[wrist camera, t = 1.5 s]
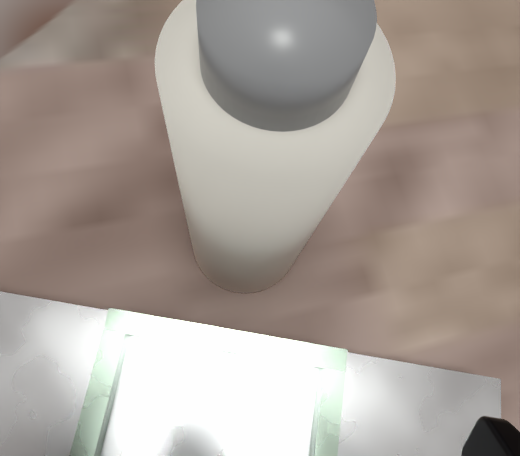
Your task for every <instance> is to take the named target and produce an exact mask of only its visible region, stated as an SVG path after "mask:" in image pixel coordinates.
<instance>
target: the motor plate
mask: <svg viewBox="0 0 520 456" xmlns="http://www.w3.org/2000/svg"><path fill="white" fill-rule="evenodd" d="M482 416H489V417H494V418H500V419H501V379H497V378H492V377H486V376H480V375H475V374H469V373H463V372H457V371H452V370H446V369H440V368H434V367H429V366H423V365H417V364H412V363H406V362H400V361H394V360H389V359H383V358H377V357H372V356H366V355H360V354H354V353H349V352H348V350H347V349H341V348H335V347H329V346H324V345H318V344H312V343H307V342H301V341H295V340H289V339H284V338H278V337H272V336H267V335H261V334H255V333H250V332H244V331H238V330H232V329H227V328H221V327H215V326H210V325H204V324H198V323H192V322H187V321H181V320H175V319H170V318H164V317H158V316H152V315H147V314H141V313H135V312H130V311H124V310H118V309H112V308H109V310H103V309H97V308H91V307H86V306H80V305H74V304H69V303H63V302H57V301H51V300H46V299H40V298H34V297H29V296H23V295H17V294H11V293H6V292H0V456H461V451H462V447H463V445H464V443H465V441H466V439H467V438H468V436H469V434H470V432H471V430H472V429H473V427H474V425H475V423H476V421H477V420H478V419H479V418H480V417H482Z"/></svg>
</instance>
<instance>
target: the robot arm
mask: <svg viewBox="0 0 520 456" xmlns="http://www.w3.org/2000/svg"><path fill="white" fill-rule="evenodd" d="M461 456H520V432H519V431H518V430H517V429H516V428H515V427H514V426H513V425H512V424H511V423H509V422H508V421H506V420H504V419H500V418H494V417H489V416H482V417H480V418H479V419H478V420H477V421H476V423H475V425H474V427H473V429H472V430H471V432H470V434H469V436H468V438H467V439H466V441H465V443H464V445H463V447H462V451H461Z"/></svg>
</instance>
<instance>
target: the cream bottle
mask: <svg viewBox="0 0 520 456" xmlns="http://www.w3.org/2000/svg"><path fill="white" fill-rule="evenodd" d="M155 75H156V80H157V85H158V90H159V94H160V99H161V104H162V108H163V113H164V118H165V122H166V127H167V132H168V136H169V141H170V146H171V150H172V155H173V160H174V164H175V169H176V174H177V178H178V183H179V188H180V192H181V197H182V202H183V206H184V211H185V216H186V220H187V225H188V230H189V234H190V239H191V244H192V248H193V253H194V257H195V260H196V262H197V264H198V266H199V268H200V269H201V271H202V272H203V273H204V275H205V276H206V277H207V278H208V279H209V280H211V281H212V282H213V283H214V284H216V285H218V286H219V287H221V288H224V289H226V290H229V291H232V292H237V293H254V292H258V291H262V290H265V289H267V288H269V287H271V286H273V285H275V284H276V283H277V282H279V281H280V280H281V279H282V278H283V277H284V276H285V275H286V274H287V272H288V271H289V270H290V268H291V266H292V265H293V263H294V262H295V260H296V259H297V257H298V256H299V254H300V252H301V251H302V249H303V248H304V246H305V245H306V243H307V242H308V240H309V238H310V237H311V235H312V234H313V232H314V231H315V229H316V227H317V226H318V224H319V223H320V221H321V220H322V218H323V217H324V215H325V213H326V212H327V210H328V209H329V207H330V206H331V204H332V203H333V201H334V199H335V198H336V196H337V195H338V193H339V192H340V190H341V188H342V187H343V185H344V184H345V182H346V181H347V179H348V178H349V176H350V174H351V173H352V171H353V170H354V168H355V167H356V165H357V163H358V162H359V160H360V159H361V157H362V156H363V154H364V153H365V151H366V149H367V148H368V146H369V145H370V143H371V142H372V140H373V139H374V137H375V135H376V134H377V132H378V131H379V129H380V128H381V126H382V124H383V122H384V121H385V119H386V117H387V115H388V113H389V110H390V108H391V105H392V102H393V97H394V93H395V81H396V75H395V64H394V60H393V56H392V52H391V49H390V47H389V44H388V42H387V39H386V38H385V36H384V34H383V32H382V30H381V28H380V27H379V26H378V24H377V15H376V7H375V3H374V0H183V1H181V3H180V4H179V5H178V6H177V7H176V8H175V9H174V11H173V12H172V13H171V15H170V16H169V18H168V19H167V21H166V22H165V24H164V27H163V29H162V31H161V33H160V36H159V40H158V43H157V47H156V54H155Z"/></svg>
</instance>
